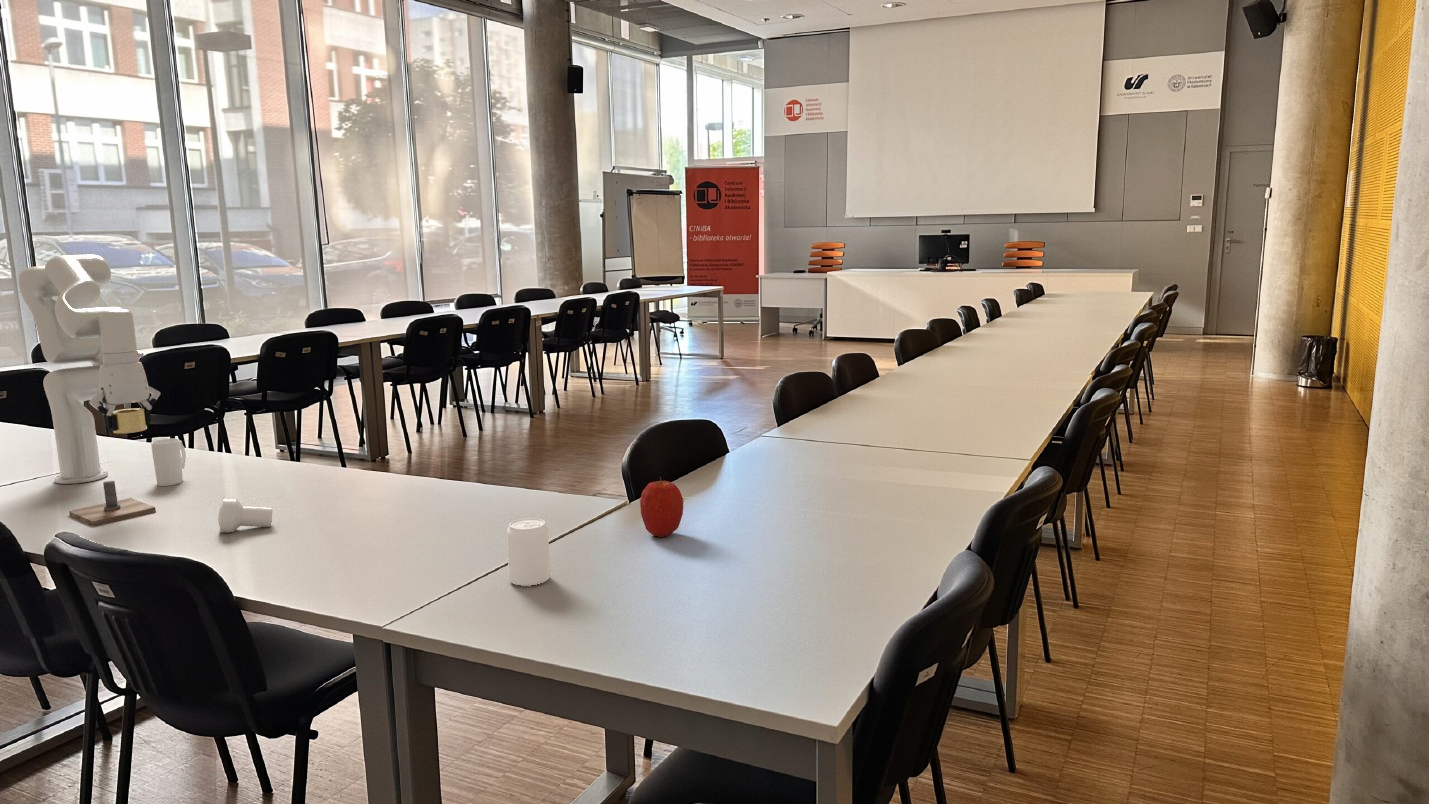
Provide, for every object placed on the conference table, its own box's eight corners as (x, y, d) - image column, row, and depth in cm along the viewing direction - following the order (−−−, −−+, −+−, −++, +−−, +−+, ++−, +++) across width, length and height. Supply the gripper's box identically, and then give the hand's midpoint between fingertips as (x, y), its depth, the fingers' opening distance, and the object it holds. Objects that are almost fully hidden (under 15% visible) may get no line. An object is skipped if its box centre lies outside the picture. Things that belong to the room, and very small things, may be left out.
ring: (108, 431, 235) (105, 412, 235) (138, 426, 241) (136, 407, 240) (121, 434, 231) (118, 414, 230) (151, 429, 237) (149, 410, 236)
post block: (69, 515, 230) (65, 483, 228) (131, 502, 241) (127, 471, 239) (93, 526, 221) (88, 493, 220) (155, 511, 232) (152, 480, 231)
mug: (171, 486, 255) (166, 444, 253) (150, 485, 256) (145, 443, 254) (198, 477, 264) (193, 436, 262) (177, 476, 266) (172, 435, 263)
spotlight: (217, 522, 220) (221, 491, 218) (270, 524, 225) (274, 494, 223) (215, 538, 213) (220, 506, 211) (270, 540, 219) (274, 509, 216)
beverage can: (511, 573, 190) (509, 517, 188) (551, 572, 190) (549, 516, 188) (506, 589, 182) (503, 530, 180) (548, 587, 183) (545, 529, 180)
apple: (667, 545, 206) (666, 485, 204) (630, 537, 211) (629, 478, 209) (692, 532, 215) (692, 474, 212) (657, 525, 220) (656, 468, 217)
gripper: (150, 353, 242) (158, 420, 245) (75, 361, 228) (85, 432, 231) (164, 355, 238) (172, 423, 241) (88, 364, 224) (98, 435, 227)
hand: (129, 427), depth 236 cm, fingers closed on ring, 7 cm apart
